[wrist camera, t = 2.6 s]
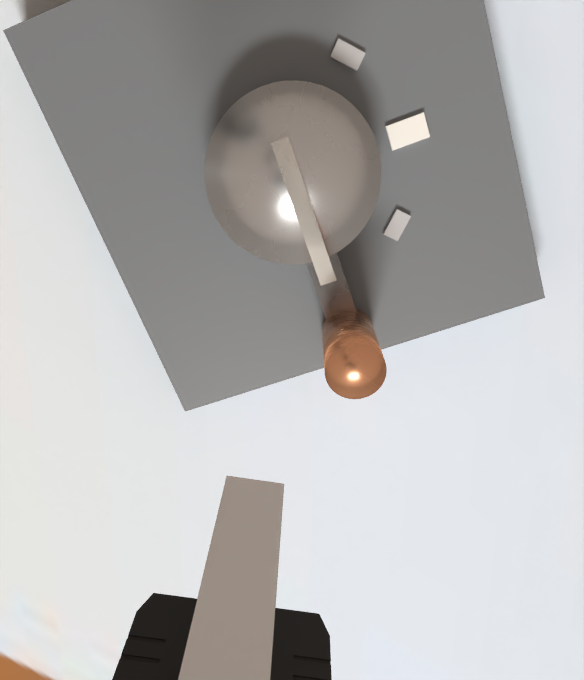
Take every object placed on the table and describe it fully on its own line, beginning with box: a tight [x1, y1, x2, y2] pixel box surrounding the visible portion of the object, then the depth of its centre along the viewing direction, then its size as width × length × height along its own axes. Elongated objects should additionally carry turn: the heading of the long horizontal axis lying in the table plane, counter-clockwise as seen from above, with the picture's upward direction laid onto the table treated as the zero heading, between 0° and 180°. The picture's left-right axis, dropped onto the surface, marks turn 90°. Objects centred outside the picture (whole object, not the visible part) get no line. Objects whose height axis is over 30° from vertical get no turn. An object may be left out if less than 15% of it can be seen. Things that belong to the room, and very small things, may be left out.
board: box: [3, 0, 545, 411], centre depth 25 cm, size 18×18×2 cm
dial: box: [204, 80, 386, 399], centre depth 22 cm, size 12×7×4 cm, turn 20°
